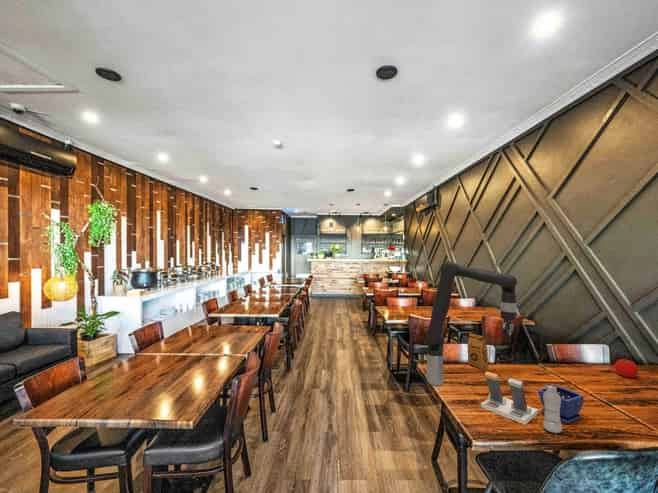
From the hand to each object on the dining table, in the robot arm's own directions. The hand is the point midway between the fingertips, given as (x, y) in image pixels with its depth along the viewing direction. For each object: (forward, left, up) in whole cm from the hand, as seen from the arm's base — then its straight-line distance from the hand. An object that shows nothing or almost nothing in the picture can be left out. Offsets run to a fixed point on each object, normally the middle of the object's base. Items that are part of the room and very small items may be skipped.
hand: (507, 341), depth 165 cm
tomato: (+91, +23, -30) cm, 99 cm away
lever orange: (-13, -11, -27) cm, 31 cm away
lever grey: (-7, -20, -27) cm, 34 cm away
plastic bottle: (-2, -33, -30) cm, 45 cm away
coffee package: (+6, +44, -30) cm, 54 cm away
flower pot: (+11, -22, -30) cm, 39 cm away
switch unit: (-10, -15, -30) cm, 35 cm away
